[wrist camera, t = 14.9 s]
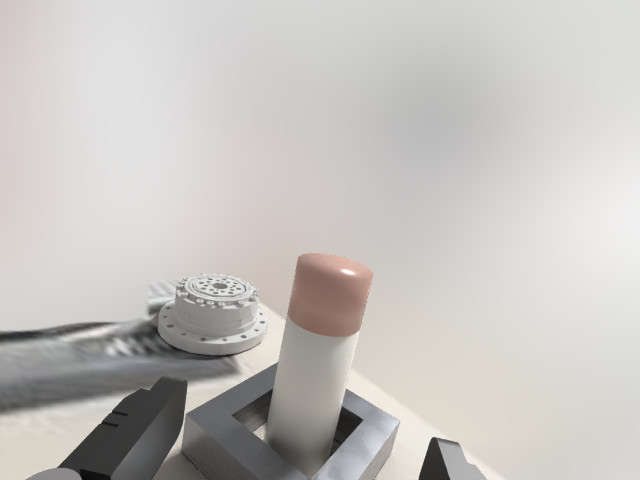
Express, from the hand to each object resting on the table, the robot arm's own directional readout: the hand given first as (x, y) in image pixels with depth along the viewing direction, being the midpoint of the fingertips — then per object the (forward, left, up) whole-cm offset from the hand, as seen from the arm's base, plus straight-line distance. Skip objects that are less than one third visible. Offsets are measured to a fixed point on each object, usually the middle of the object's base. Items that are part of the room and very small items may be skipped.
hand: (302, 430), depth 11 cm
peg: (-4, +7, -9) cm, 12 cm away
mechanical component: (-19, +13, -9) cm, 24 cm away
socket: (-4, +7, -9) cm, 12 cm away
